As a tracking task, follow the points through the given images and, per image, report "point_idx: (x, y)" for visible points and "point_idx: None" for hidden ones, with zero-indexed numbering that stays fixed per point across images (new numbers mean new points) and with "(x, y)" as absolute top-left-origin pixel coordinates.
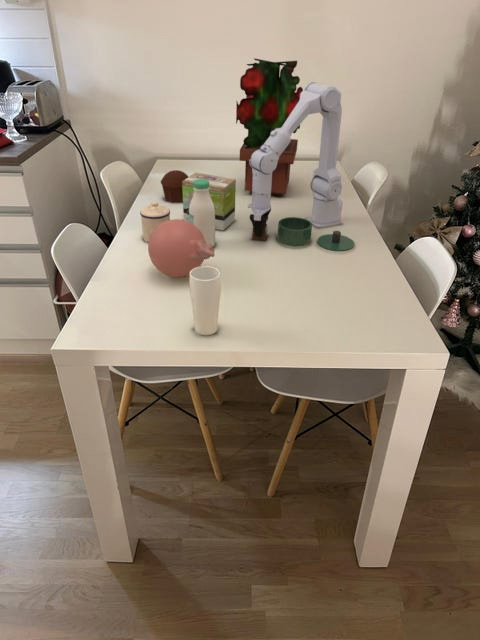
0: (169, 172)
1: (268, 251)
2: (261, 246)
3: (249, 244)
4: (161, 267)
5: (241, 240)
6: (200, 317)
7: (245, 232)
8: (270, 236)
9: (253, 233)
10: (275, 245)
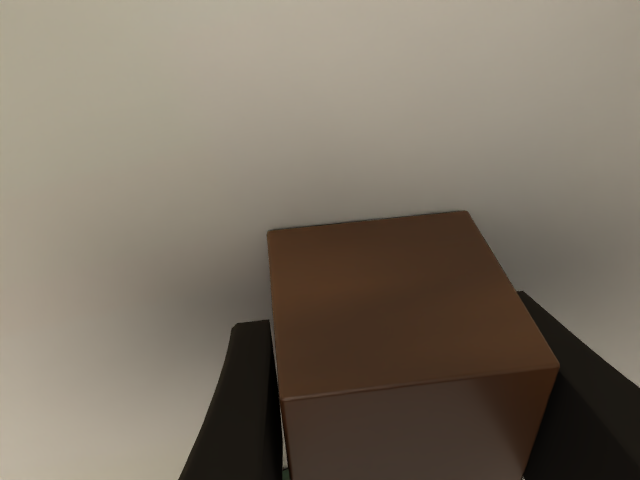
0: None
1: (3, 456)
2: (94, 375)
3: (66, 236)
4: None
5: (157, 71)
6: None
7: (540, 50)
8: None
9: (274, 317)
10: None
